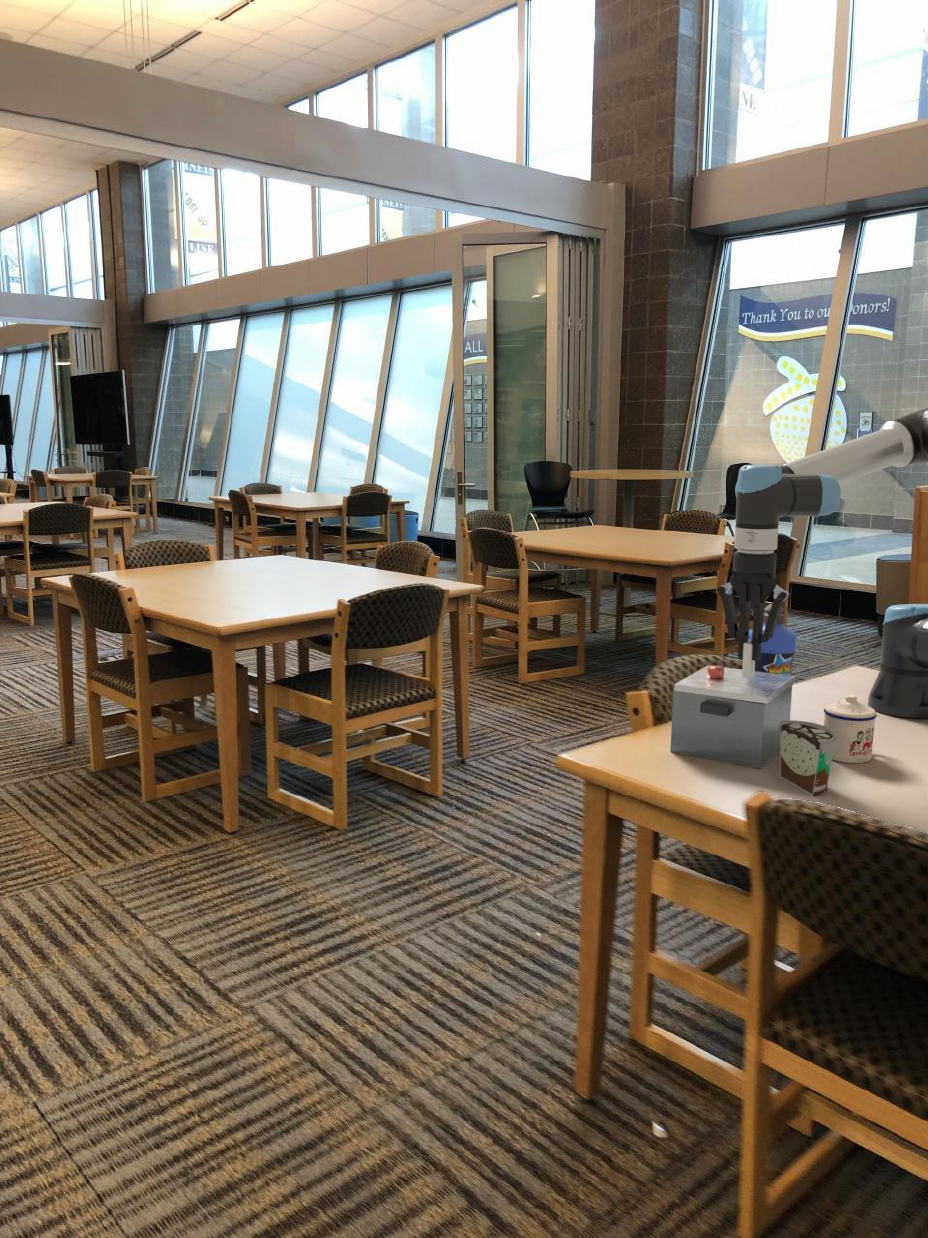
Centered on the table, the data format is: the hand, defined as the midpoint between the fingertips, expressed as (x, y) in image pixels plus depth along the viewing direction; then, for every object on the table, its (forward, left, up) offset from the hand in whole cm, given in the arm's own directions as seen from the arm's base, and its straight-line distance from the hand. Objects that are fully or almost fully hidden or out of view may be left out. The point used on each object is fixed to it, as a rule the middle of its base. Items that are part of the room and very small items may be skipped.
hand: (748, 676), depth 180 cm
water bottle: (+2, -20, -15) cm, 25 cm away
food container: (-15, +11, -15) cm, 24 cm away
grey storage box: (+3, 0, -14) cm, 15 cm away
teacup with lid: (-17, -9, -15) cm, 24 cm away
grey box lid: (+2, 0, -2) cm, 3 cm away
